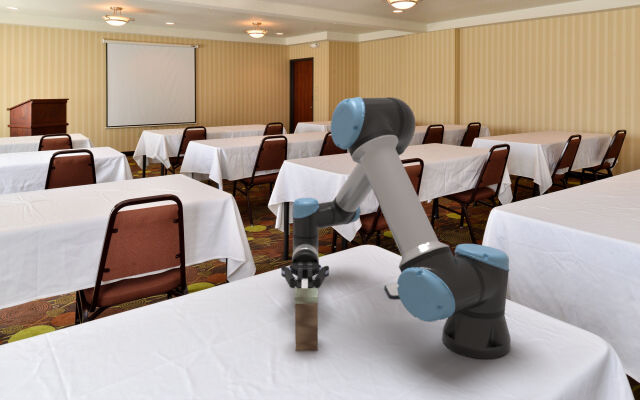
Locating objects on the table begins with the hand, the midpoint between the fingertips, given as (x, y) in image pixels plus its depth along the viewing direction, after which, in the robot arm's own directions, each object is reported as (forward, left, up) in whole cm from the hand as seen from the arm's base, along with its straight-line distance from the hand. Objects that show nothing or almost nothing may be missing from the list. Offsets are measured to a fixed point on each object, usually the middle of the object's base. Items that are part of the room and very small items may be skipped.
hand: (304, 295), depth 116 cm
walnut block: (-2, +3, -11) cm, 11 cm away
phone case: (-14, -39, -12) cm, 43 cm away
